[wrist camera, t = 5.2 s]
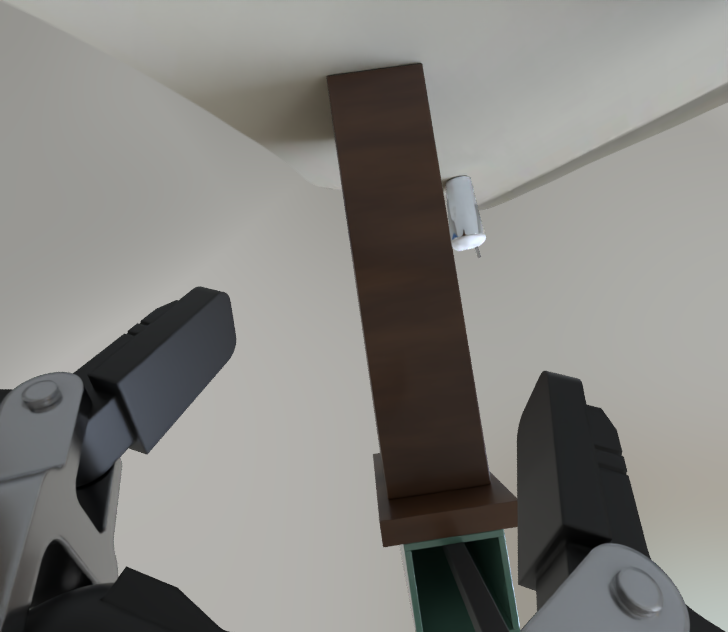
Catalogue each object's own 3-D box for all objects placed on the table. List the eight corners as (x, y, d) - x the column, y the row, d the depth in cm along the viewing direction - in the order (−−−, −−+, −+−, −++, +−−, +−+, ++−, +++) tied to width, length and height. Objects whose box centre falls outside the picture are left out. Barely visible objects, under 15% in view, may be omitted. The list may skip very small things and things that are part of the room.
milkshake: (452, 192, 57) (464, 261, 56) (434, 183, 52) (446, 258, 52) (483, 180, 54) (496, 253, 53) (466, 170, 50) (480, 249, 49)
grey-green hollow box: (452, 462, 37) (463, 529, 37) (388, 472, 37) (398, 539, 37) (503, 529, 24) (521, 635, 23) (403, 544, 24) (419, 651, 23)
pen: (432, 478, 35) (434, 496, 35) (417, 480, 35) (419, 498, 35) (530, 664, 15) (537, 708, 14) (494, 669, 15) (501, 713, 14)
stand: (411, 144, 41) (461, 456, 39) (330, 155, 41) (375, 469, 39) (439, 28, 26) (523, 526, 24) (311, 45, 26) (383, 547, 24)
